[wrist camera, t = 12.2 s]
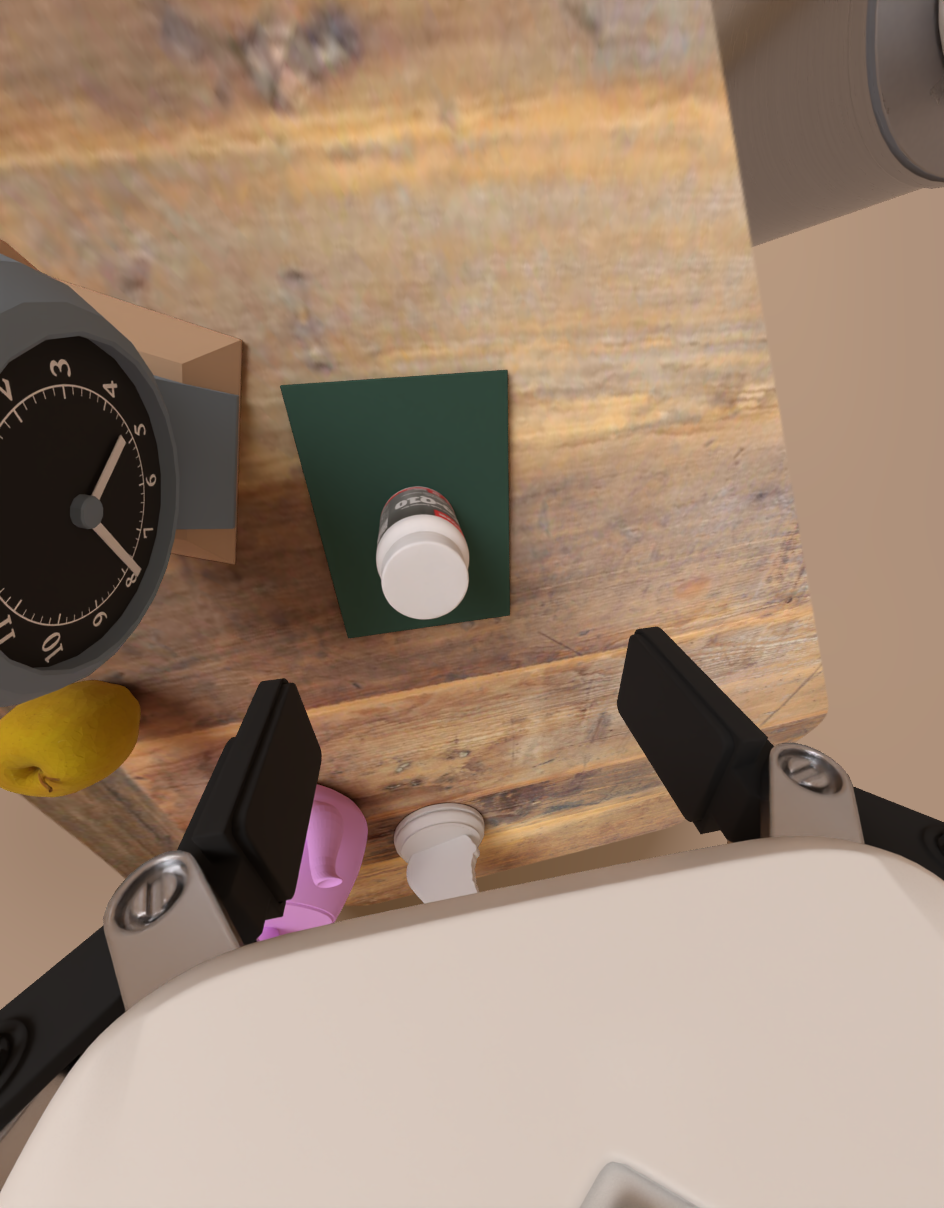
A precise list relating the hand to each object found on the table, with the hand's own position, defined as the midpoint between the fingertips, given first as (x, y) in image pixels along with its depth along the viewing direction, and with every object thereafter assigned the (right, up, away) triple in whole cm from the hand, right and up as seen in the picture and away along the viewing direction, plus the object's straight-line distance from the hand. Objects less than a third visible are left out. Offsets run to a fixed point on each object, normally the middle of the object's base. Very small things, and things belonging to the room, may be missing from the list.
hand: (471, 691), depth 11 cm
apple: (-26, -4, +17) cm, 31 cm away
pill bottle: (-3, +8, +14) cm, 16 cm away
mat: (-4, +8, +14) cm, 17 cm away
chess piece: (-4, -22, +32) cm, 39 cm away
